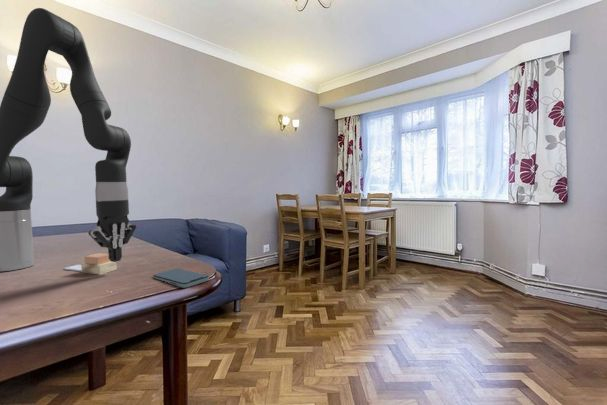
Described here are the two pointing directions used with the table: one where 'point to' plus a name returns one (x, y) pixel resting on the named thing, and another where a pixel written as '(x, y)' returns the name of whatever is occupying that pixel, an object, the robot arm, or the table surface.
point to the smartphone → (182, 277)
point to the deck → (98, 267)
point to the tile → (97, 258)
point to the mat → (74, 268)
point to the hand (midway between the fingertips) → (115, 261)
